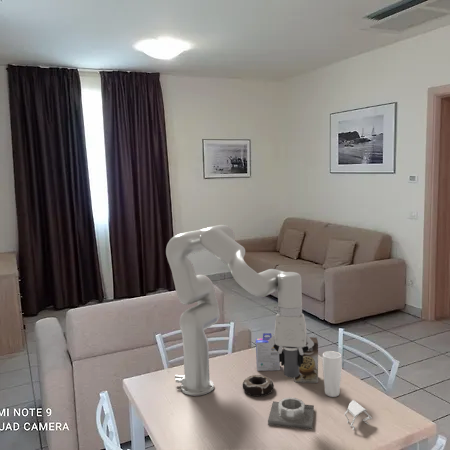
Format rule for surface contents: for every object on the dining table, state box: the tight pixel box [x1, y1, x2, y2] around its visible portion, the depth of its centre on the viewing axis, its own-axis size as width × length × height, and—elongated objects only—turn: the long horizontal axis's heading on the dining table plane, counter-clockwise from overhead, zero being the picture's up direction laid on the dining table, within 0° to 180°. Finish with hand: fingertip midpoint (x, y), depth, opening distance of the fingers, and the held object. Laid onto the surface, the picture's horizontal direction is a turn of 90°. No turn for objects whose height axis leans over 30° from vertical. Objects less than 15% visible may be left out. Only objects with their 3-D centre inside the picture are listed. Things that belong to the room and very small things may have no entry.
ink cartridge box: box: [255, 332, 281, 372], centre depth 179 cm, size 10×6×14 cm, turn 89°
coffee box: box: [293, 336, 319, 384], centre depth 169 cm, size 9×6×16 cm
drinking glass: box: [321, 350, 343, 398], centre depth 157 cm, size 7×7×15 cm
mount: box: [267, 396, 315, 430], centre depth 143 cm, size 14×12×4 cm
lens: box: [283, 347, 299, 379], centre depth 141 cm, size 5×5×10 cm
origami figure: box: [343, 399, 373, 431], centre depth 140 cm, size 12×8×5 cm
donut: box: [242, 374, 275, 397], centre depth 162 cm, size 12×12×4 cm
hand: (291, 364), depth 141 cm, fingers closed on lens, 5 cm apart
